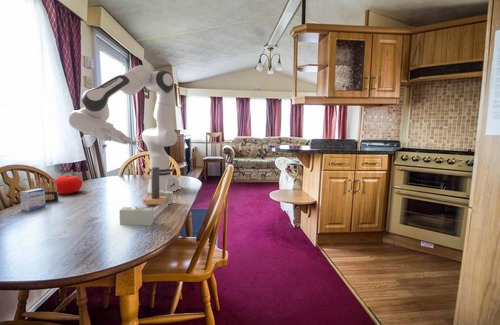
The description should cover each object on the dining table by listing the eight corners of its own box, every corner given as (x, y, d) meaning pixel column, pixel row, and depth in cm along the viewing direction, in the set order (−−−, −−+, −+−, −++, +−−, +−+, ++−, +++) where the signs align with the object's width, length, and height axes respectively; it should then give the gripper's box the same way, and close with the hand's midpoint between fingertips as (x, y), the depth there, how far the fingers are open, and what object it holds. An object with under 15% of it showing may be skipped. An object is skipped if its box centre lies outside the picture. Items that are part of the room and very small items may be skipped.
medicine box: (28, 211, 117) (27, 192, 116) (20, 210, 118) (19, 191, 117) (45, 206, 125) (44, 188, 124) (38, 205, 126) (37, 187, 125)
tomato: (61, 190, 156) (60, 173, 155) (85, 190, 159) (85, 173, 158) (49, 196, 142) (48, 177, 141) (76, 195, 145) (75, 177, 144)
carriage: (149, 199, 133) (148, 166, 131) (167, 200, 133) (167, 166, 131) (143, 203, 125) (142, 168, 123) (162, 204, 125) (162, 169, 123)
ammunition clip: (31, 203, 129) (29, 179, 127) (31, 202, 130) (30, 178, 129) (57, 201, 134) (56, 178, 133) (58, 200, 136) (57, 177, 134)
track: (150, 201, 139) (150, 189, 138) (173, 202, 139) (173, 190, 138) (119, 224, 105) (119, 209, 104) (150, 225, 105) (149, 209, 104)
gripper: (101, 120, 117) (132, 132, 120) (113, 129, 137) (139, 139, 140) (95, 133, 116) (126, 145, 119) (108, 140, 136) (135, 150, 139)
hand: (134, 142), depth 130 cm, fingers open, 8 cm apart
